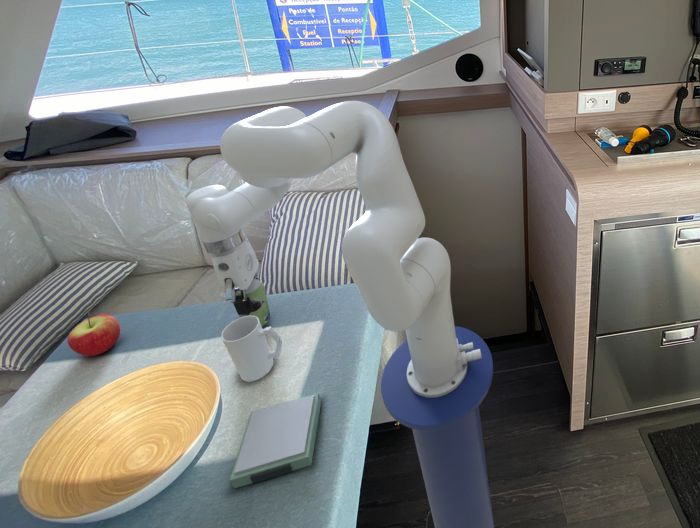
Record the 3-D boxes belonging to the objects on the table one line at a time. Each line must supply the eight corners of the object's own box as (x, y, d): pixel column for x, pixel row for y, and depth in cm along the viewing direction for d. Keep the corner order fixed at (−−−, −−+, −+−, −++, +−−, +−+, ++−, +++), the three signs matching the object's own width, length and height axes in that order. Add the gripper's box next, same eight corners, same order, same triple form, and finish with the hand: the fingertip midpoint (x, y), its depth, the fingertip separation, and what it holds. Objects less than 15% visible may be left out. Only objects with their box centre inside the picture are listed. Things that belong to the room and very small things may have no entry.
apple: (134, 330, 102) (116, 299, 98) (112, 359, 94) (92, 326, 90) (95, 338, 100) (75, 306, 96) (69, 368, 92) (47, 335, 88)
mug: (233, 385, 86) (214, 344, 81) (247, 358, 92) (230, 317, 88) (284, 377, 87) (268, 336, 83) (295, 351, 93) (280, 310, 89)
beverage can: (253, 314, 104) (238, 275, 100) (281, 313, 103) (267, 274, 99) (237, 334, 98) (220, 294, 94) (266, 333, 98) (251, 293, 93)
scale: (321, 401, 82) (317, 390, 81) (311, 467, 71) (306, 456, 70) (254, 419, 79) (250, 409, 78) (233, 491, 68) (227, 480, 67)
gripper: (230, 259, 84) (257, 325, 91) (255, 216, 100) (276, 275, 107) (188, 268, 83) (220, 334, 90) (220, 222, 98) (244, 282, 105)
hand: (250, 301), depth 98 cm, fingers closed on beverage can, 6 cm apart
